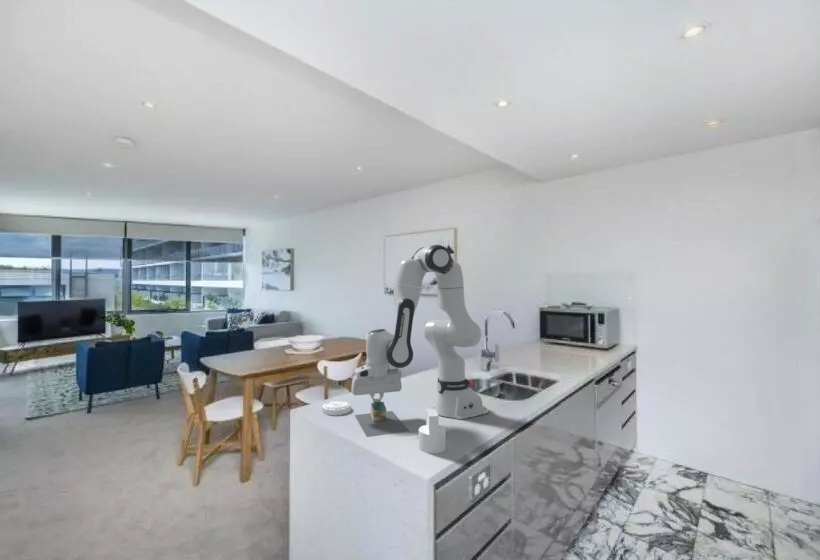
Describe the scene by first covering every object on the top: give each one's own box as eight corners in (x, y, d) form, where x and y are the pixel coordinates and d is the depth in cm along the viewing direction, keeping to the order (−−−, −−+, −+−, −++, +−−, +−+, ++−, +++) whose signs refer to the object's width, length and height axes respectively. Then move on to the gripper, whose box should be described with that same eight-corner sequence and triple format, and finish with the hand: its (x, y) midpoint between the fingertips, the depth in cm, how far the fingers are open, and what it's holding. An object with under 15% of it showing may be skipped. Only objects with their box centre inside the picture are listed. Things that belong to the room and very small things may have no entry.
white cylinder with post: (417, 442, 132) (417, 407, 132) (443, 441, 132) (443, 406, 132) (420, 453, 123) (420, 416, 123) (447, 453, 123) (447, 416, 123)
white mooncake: (356, 411, 164) (356, 402, 164) (337, 419, 154) (337, 410, 154) (336, 406, 170) (336, 398, 170) (316, 414, 160) (316, 405, 160)
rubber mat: (391, 412, 162) (391, 410, 162) (409, 432, 140) (409, 431, 140) (354, 416, 156) (354, 415, 156) (366, 438, 135) (366, 436, 135)
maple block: (382, 412, 155) (383, 401, 154) (385, 420, 151) (386, 409, 149) (370, 413, 154) (371, 402, 152) (373, 421, 149) (374, 410, 148)
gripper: (399, 366, 160) (399, 399, 160) (350, 369, 154) (350, 404, 154) (403, 369, 154) (403, 403, 154) (353, 373, 148) (353, 409, 148)
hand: (376, 403), depth 154 cm, fingers closed, pressing on maple block
